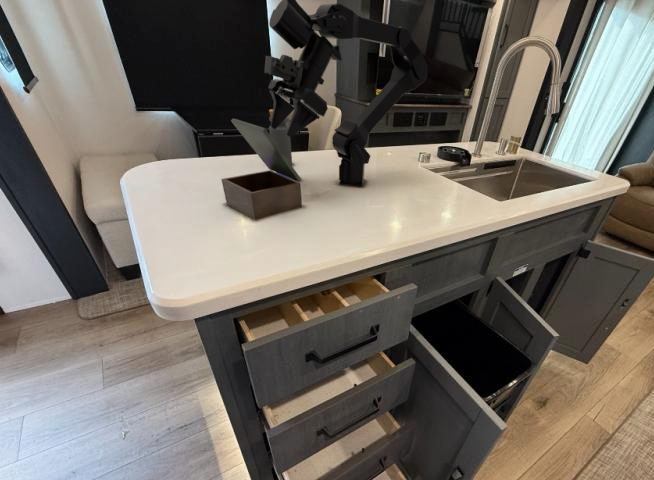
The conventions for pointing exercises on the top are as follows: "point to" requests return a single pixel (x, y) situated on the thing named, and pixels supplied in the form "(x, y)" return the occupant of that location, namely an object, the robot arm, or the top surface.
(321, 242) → the top surface
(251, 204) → the box
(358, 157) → the robot arm
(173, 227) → the top surface
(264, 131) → the lid
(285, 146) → the bottle
